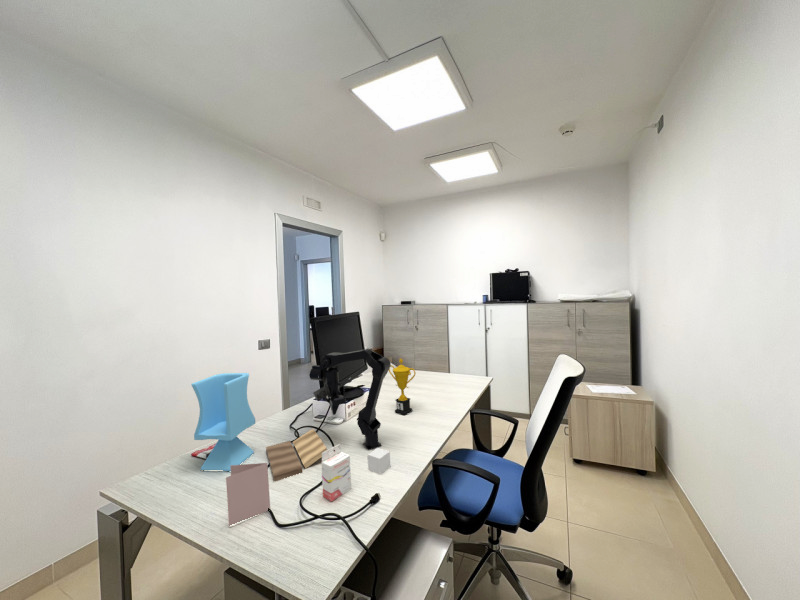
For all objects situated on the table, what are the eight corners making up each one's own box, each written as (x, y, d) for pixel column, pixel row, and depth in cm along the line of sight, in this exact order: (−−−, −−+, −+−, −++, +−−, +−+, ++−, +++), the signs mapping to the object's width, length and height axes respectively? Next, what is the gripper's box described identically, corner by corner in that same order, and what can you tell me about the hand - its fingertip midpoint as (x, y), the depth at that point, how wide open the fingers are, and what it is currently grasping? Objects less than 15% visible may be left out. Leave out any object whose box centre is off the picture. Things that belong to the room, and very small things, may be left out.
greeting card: (271, 508, 97) (268, 461, 97) (261, 525, 90) (258, 475, 90) (234, 510, 97) (231, 463, 97) (222, 528, 89) (218, 478, 89)
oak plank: (328, 451, 123) (326, 447, 123) (305, 468, 118) (303, 464, 118) (314, 431, 142) (313, 428, 142) (294, 445, 138) (292, 441, 137)
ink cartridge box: (332, 502, 98) (329, 457, 98) (322, 496, 101) (320, 452, 101) (352, 488, 105) (349, 446, 105) (342, 483, 108) (340, 442, 108)
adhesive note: (368, 470, 116) (367, 454, 115) (378, 462, 120) (377, 447, 120) (380, 475, 112) (379, 458, 112) (390, 466, 117) (389, 451, 117)
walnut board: (302, 472, 116) (302, 467, 116) (274, 482, 111) (273, 476, 111) (290, 445, 139) (289, 440, 139) (266, 451, 134) (266, 447, 134)
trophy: (384, 411, 172) (382, 358, 172) (396, 406, 180) (393, 355, 179) (412, 418, 160) (409, 361, 160) (422, 412, 168) (420, 358, 167)
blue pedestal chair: (196, 472, 120) (190, 383, 119) (224, 451, 135) (219, 373, 135) (232, 473, 118) (227, 383, 117) (257, 452, 133) (252, 372, 133)
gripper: (309, 379, 144) (311, 412, 145) (319, 389, 128) (322, 426, 128) (332, 375, 150) (334, 406, 150) (345, 384, 134) (347, 419, 134)
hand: (334, 414), depth 141 cm, fingers closed
